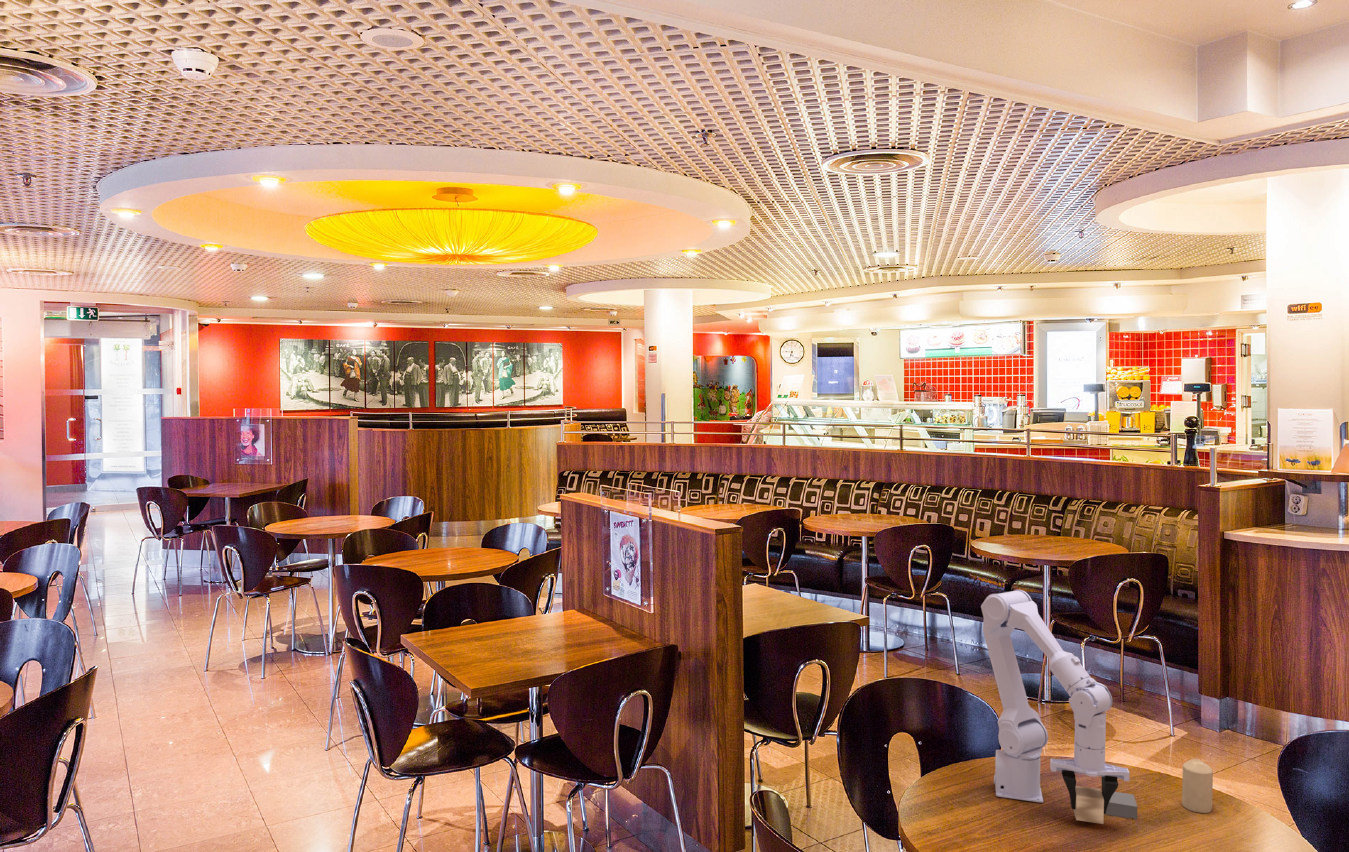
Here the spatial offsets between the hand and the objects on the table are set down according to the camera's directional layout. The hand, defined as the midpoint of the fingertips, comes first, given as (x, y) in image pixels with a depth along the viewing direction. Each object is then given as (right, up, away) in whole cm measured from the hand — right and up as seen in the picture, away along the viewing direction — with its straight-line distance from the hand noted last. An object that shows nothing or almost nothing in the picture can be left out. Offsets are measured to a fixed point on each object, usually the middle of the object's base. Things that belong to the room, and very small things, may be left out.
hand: (1088, 809), depth 178 cm
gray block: (+9, -3, +5) cm, 11 cm away
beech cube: (0, -1, 0) cm, 1 cm away
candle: (+27, -3, +7) cm, 28 cm away
